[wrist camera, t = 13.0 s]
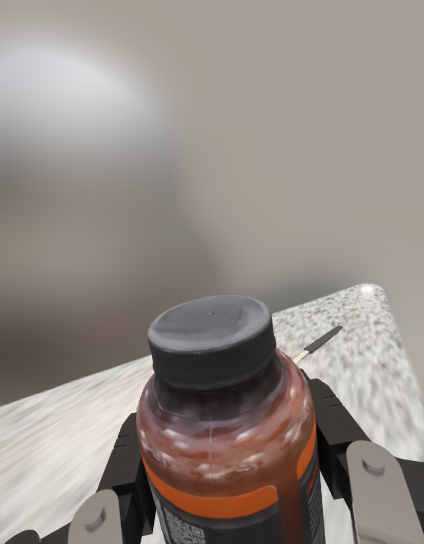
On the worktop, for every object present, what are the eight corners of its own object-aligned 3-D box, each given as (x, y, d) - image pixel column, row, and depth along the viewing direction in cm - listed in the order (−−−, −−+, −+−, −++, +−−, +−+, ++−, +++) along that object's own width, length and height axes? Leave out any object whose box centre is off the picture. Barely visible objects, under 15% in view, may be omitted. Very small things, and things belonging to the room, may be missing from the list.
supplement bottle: (291, 473, 13) (272, 277, 10) (371, 686, 7) (369, 345, 4) (185, 492, 12) (142, 298, 10) (173, 726, 7) (64, 396, 4)
